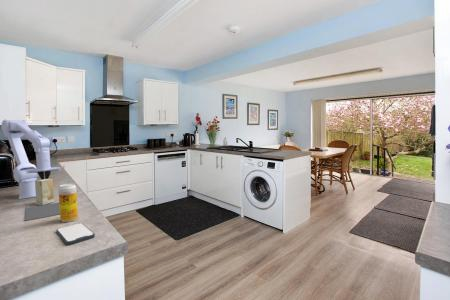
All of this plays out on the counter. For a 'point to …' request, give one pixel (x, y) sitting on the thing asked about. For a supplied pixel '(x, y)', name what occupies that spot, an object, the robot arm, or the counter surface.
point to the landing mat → (42, 211)
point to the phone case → (75, 234)
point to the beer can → (68, 202)
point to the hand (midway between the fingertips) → (45, 185)
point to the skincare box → (44, 191)
